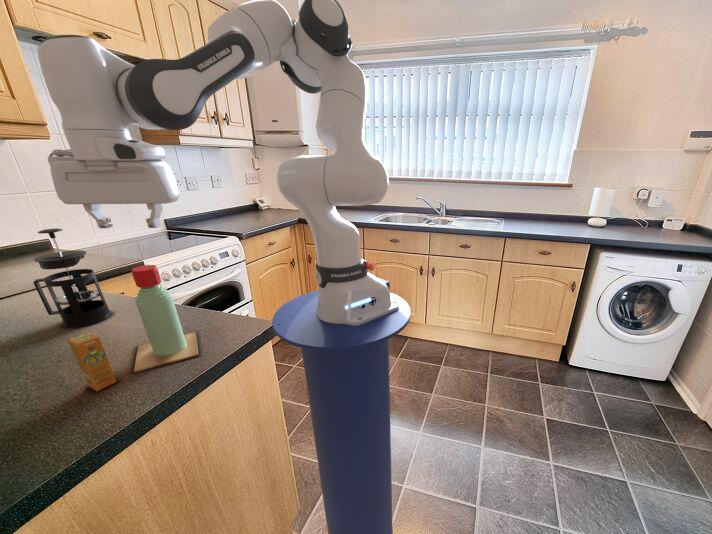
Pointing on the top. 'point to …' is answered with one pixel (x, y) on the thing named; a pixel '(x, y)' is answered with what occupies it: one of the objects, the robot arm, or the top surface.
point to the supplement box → (92, 361)
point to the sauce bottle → (160, 320)
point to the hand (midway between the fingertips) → (130, 227)
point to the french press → (80, 301)
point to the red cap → (146, 276)
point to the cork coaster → (150, 360)
